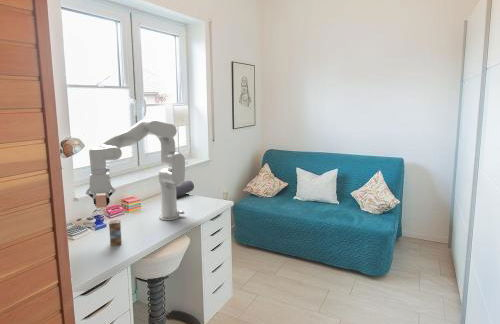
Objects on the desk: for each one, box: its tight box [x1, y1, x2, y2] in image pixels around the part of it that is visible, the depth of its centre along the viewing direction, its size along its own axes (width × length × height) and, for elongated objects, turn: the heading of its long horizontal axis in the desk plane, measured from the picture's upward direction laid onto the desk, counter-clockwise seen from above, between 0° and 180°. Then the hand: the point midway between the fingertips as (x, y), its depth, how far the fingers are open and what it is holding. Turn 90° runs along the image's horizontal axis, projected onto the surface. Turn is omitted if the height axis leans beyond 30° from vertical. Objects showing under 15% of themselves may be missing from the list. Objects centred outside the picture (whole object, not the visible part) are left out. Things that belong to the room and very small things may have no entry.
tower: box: [108, 219, 123, 247], centre depth 187 cm, size 5×5×12 cm
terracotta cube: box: [95, 193, 108, 209], centre depth 191 cm, size 5×5×6 cm
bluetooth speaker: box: [175, 180, 195, 198], centre depth 279 cm, size 23×9×10 cm, turn 149°
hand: (102, 204), depth 191 cm, fingers closed on terracotta cube, 4 cm apart
